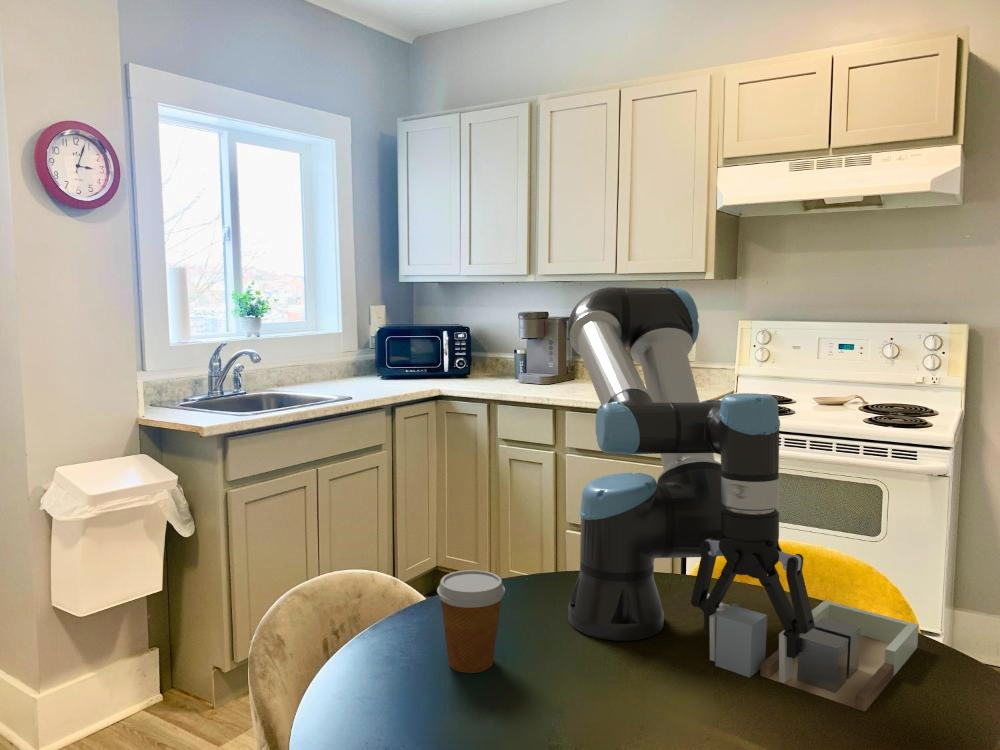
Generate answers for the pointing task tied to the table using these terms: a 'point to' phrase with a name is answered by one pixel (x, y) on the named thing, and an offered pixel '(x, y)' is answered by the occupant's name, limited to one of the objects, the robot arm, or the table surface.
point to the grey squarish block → (822, 660)
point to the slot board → (857, 687)
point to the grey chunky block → (847, 632)
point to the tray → (875, 629)
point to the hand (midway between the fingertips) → (750, 668)
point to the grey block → (741, 640)
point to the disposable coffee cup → (470, 618)
